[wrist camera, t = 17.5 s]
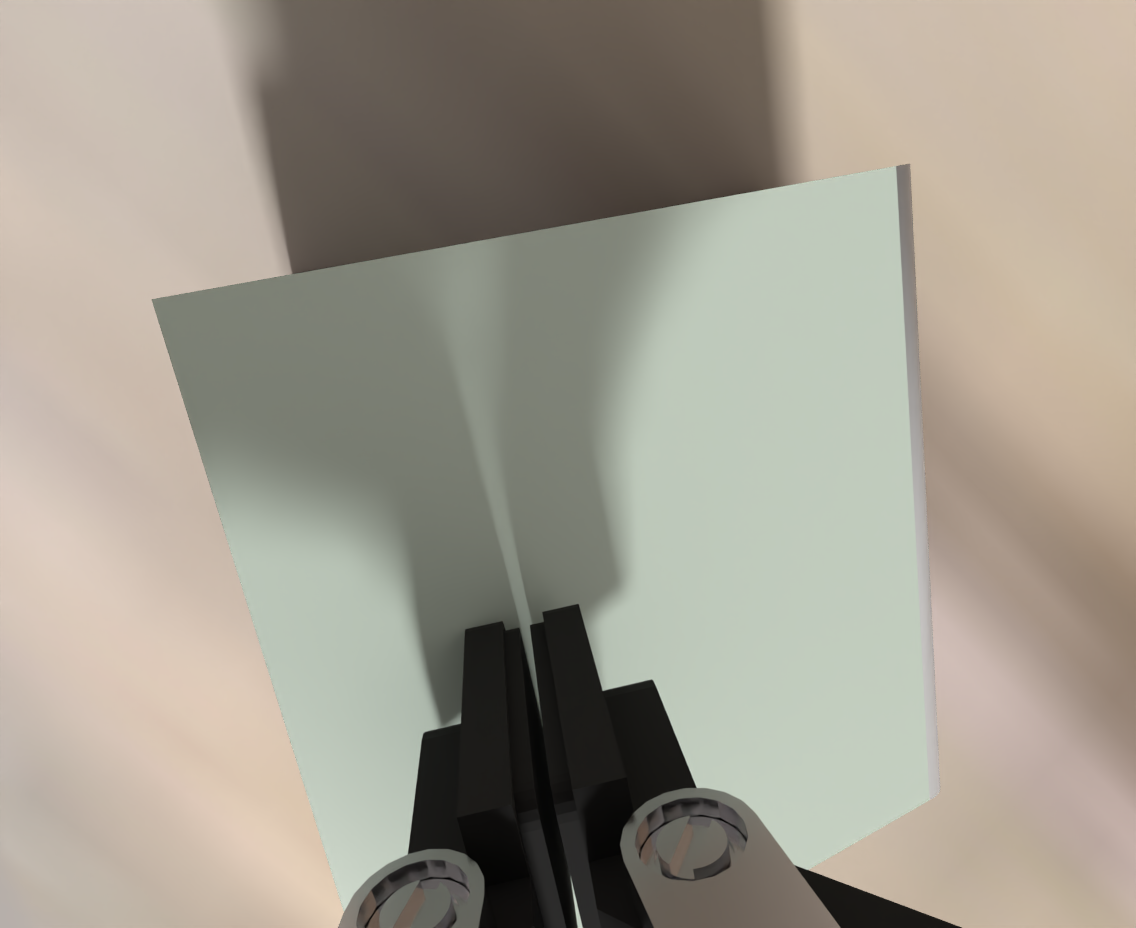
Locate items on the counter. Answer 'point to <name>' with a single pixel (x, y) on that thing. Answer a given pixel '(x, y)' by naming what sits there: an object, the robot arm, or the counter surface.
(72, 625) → the counter surface
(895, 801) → the lid
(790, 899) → the robot arm
